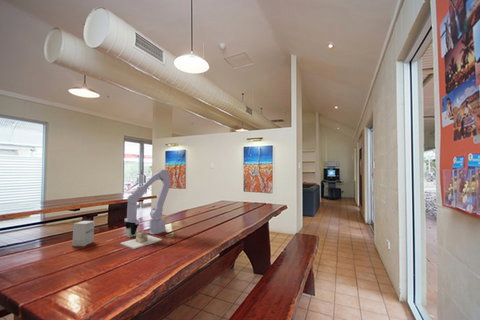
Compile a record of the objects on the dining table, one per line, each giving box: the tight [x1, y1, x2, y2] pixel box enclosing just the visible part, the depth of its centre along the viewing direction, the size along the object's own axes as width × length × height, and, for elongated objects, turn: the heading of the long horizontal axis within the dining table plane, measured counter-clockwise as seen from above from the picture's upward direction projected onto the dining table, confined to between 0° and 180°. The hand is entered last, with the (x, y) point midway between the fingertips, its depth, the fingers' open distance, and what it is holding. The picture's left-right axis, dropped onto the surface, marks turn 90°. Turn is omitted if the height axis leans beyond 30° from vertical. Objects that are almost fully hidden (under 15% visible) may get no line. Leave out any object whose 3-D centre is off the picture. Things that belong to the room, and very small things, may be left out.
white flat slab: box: [119, 234, 163, 250], centre depth 126 cm, size 18×14×1 cm
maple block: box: [135, 230, 149, 243], centre depth 126 cm, size 4×4×5 cm
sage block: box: [125, 227, 138, 238], centre depth 138 cm, size 4×4×5 cm
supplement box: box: [71, 220, 95, 247], centre depth 122 cm, size 7×7×13 cm
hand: (131, 233), depth 138 cm, fingers closed on sage block, 4 cm apart
